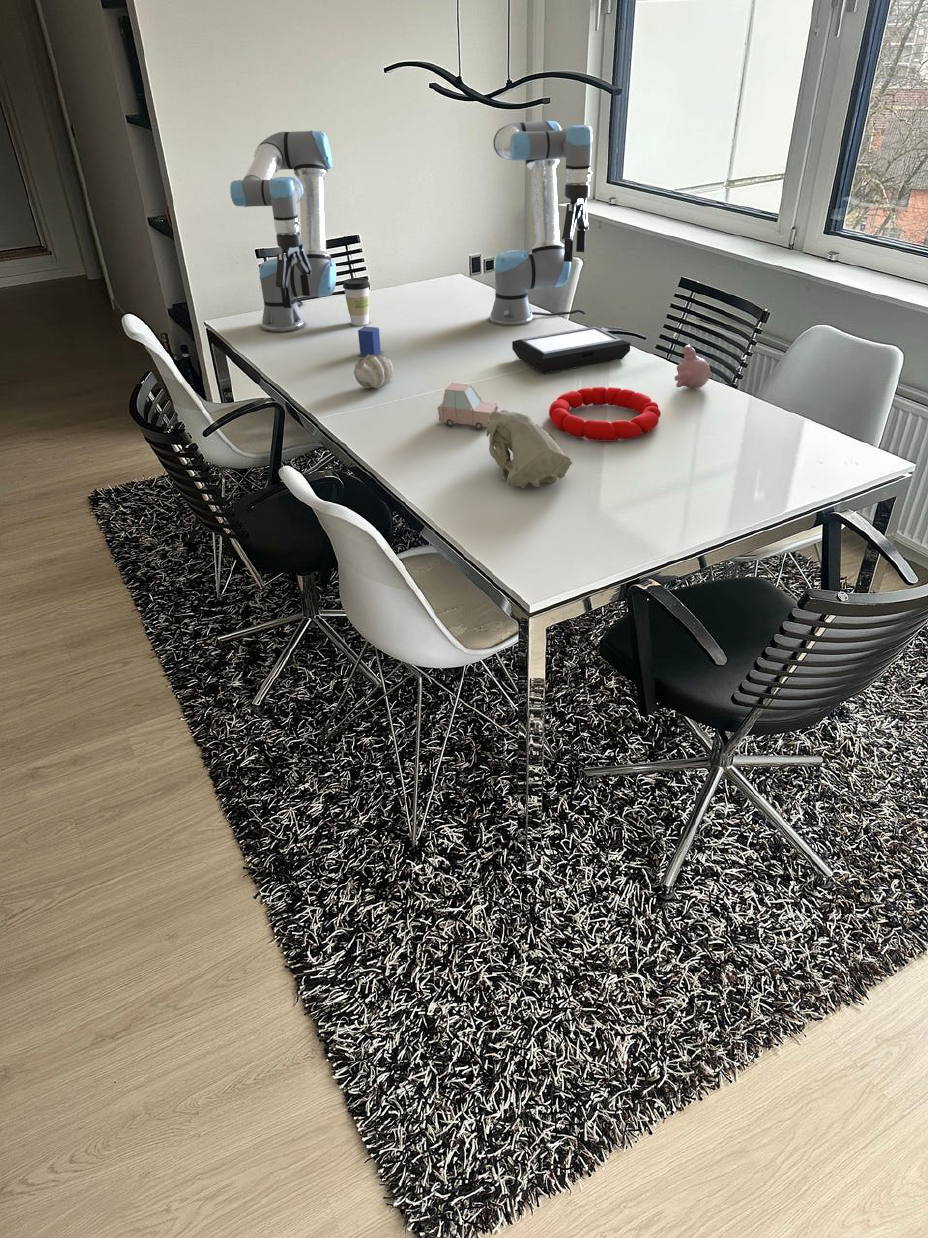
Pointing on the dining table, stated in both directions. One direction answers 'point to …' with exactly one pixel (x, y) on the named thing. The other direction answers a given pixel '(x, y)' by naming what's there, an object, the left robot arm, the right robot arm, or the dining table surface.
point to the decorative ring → (604, 428)
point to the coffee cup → (357, 300)
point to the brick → (369, 341)
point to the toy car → (465, 406)
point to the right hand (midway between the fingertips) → (574, 256)
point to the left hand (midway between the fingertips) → (297, 301)
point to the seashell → (373, 371)
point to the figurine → (692, 370)
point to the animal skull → (525, 450)
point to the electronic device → (570, 349)
